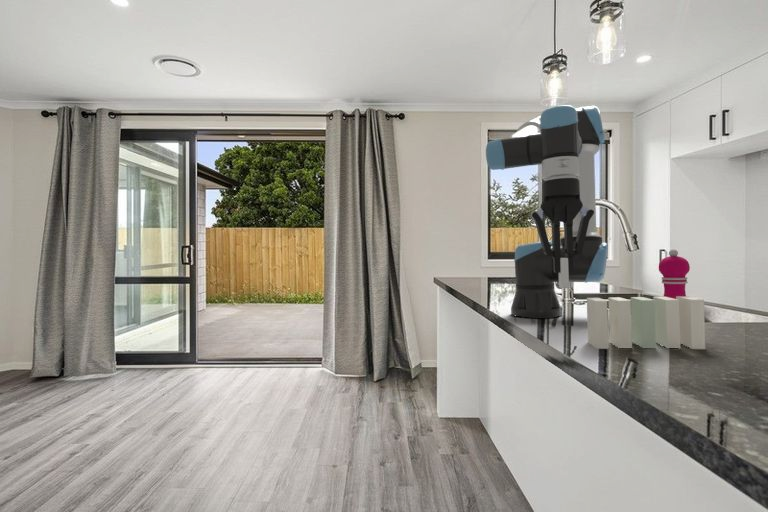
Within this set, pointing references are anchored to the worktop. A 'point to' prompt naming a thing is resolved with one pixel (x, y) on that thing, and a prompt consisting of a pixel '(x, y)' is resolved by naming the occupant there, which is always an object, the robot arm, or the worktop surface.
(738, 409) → the worktop surface
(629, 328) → the tile
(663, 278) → the pepper mill
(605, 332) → the tile
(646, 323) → the tile
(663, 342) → the tile
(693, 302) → the tile
